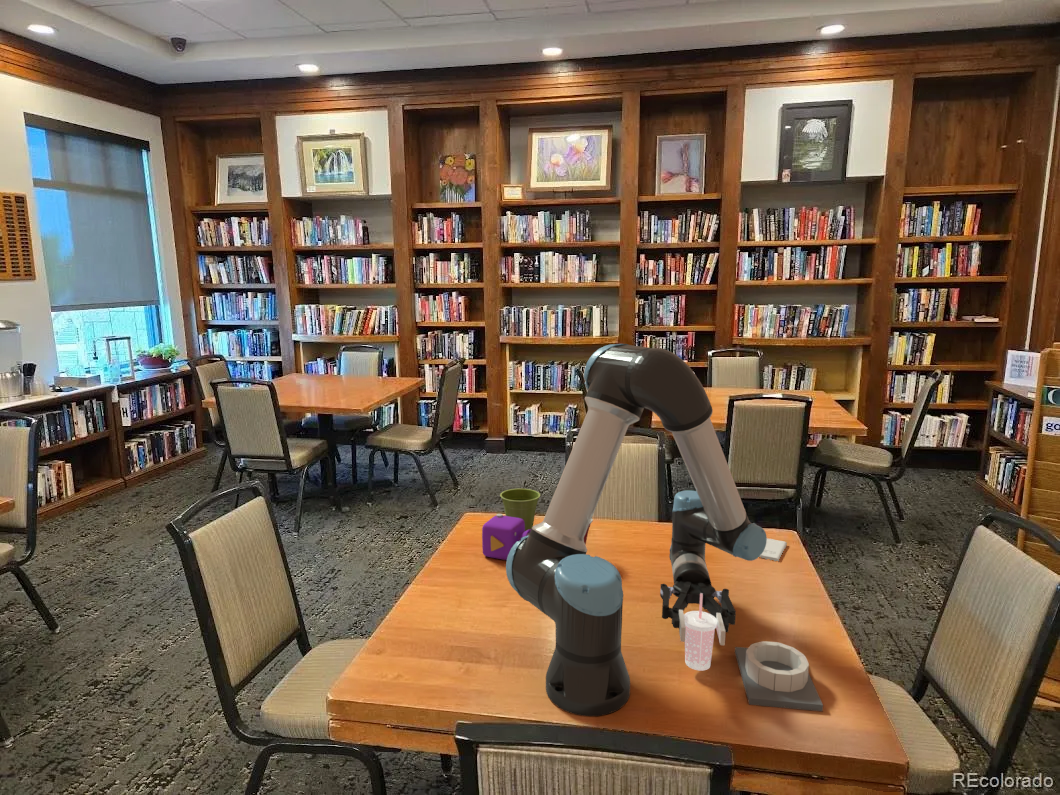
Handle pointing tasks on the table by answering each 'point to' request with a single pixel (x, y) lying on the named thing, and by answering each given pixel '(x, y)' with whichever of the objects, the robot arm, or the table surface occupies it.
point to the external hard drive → (773, 549)
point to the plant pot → (521, 504)
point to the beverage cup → (699, 638)
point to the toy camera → (502, 535)
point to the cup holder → (777, 676)
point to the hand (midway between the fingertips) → (702, 636)
